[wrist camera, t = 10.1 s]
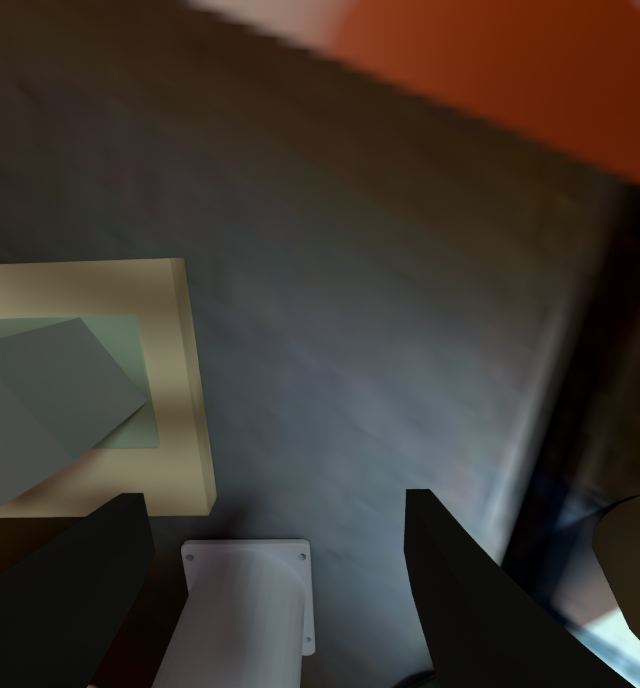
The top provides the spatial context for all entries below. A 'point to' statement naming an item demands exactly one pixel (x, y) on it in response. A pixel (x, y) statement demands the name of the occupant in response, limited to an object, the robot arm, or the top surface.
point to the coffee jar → (426, 683)
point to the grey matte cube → (56, 401)
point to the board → (143, 370)
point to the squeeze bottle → (622, 557)
